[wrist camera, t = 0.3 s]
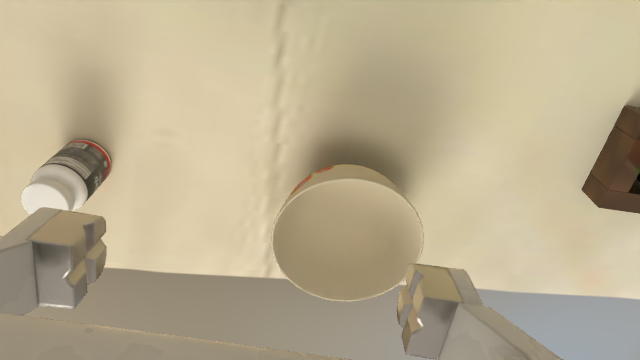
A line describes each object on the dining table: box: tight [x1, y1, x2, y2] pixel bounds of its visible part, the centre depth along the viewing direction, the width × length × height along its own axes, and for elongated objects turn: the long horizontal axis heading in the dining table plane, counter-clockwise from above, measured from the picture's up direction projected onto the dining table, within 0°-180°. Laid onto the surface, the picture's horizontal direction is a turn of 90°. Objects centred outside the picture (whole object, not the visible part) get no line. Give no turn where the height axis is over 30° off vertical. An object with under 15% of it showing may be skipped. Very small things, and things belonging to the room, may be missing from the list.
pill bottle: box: [21, 140, 111, 215], centre depth 50 cm, size 6×6×10 cm
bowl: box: [271, 164, 424, 301], centre depth 52 cm, size 16×16×10 cm
